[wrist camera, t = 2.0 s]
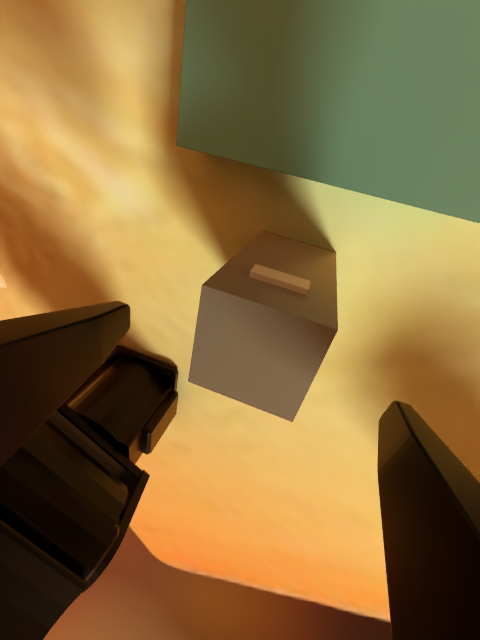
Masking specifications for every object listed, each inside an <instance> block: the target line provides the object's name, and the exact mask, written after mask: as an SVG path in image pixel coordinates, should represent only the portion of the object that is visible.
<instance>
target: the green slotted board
mask: <svg viewBox="0 0 480 640" xmlns="http://www.w3.org/2000/svg"><path fill="white" fill-rule="evenodd" d="M176 146H180V147H184V148H188V149H192V150H195V151H199V152H203V153H207V154H211V155H215V156H219V157H223V158H227V159H231V160H234V161H238V162H242V163H246V164H250V165H254V166H258V167H262V168H266V169H270V170H274V171H277V172H281V173H285V174H289V175H293V176H297V177H301V178H305V179H309V180H313V181H316V182H320V183H324V184H328V185H332V186H336V187H340V188H344V189H348V190H352V191H356V192H359V193H363V194H367V195H371V196H375V197H379V198H383V199H387V200H391V201H395V202H398V203H402V204H406V205H410V206H414V207H418V208H422V209H426V210H430V211H434V212H438V213H441V214H445V215H449V216H453V217H457V218H461V219H465V220H469V221H473V222H477V223H479V222H480V0H186V11H185V26H184V41H183V55H182V70H181V85H180V100H179V115H178V130H177V145H176Z"/></svg>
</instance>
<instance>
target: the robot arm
mask: <svg viewBox="0 0 480 640" xmlns="http://www.w3.org/2000/svg"><path fill="white" fill-rule="evenodd" d="M129 327H130V307H129V305H128V304H125V303H123V302H120V301H114V302H108V303H102V304H96V305H91V306H85V307H79V308H73V309H67V310H61V311H55V312H49V313H43V314H37V315H31V316H25V317H19V318H13V319H7V320H2V321H0V640H43V639H44V637H45V636H46V634H47V633H48V632H49V630H50V629H51V628H52V626H53V625H54V624H55V623H56V621H57V620H58V619H59V618H60V616H61V615H62V614H63V613H64V611H65V610H66V609H67V608H68V607H69V606H70V605H71V604H72V602H73V601H74V600H75V599H76V598H77V597H78V596H79V595H80V594H81V593H83V592H84V591H86V590H87V589H88V588H89V587H90V586H91V585H92V584H93V583H94V582H95V581H96V580H97V579H98V577H99V576H100V575H101V574H102V572H103V571H104V570H105V568H106V567H107V565H108V564H109V563H110V561H111V560H112V558H113V556H114V555H115V553H116V551H117V550H118V548H119V546H120V544H121V542H122V540H123V538H124V535H125V533H126V531H127V528H128V526H129V524H130V521H131V519H132V517H133V514H134V512H135V510H136V507H137V505H138V502H139V500H140V498H141V495H142V493H143V491H144V488H145V486H146V483H147V481H148V479H149V476H150V475H149V474H148V473H147V472H146V471H144V470H143V471H142V470H141V469H140V468H139V467H137V466H136V465H135V463H136V462H137V460H138V459H139V457H140V456H141V454H142V453H145V454H149V453H151V452H152V450H153V449H154V447H155V446H156V444H157V443H158V441H159V439H160V438H161V436H162V435H163V433H164V432H165V430H166V429H167V427H168V425H169V424H170V422H171V421H172V419H173V418H174V416H175V414H176V410H177V402H178V393H177V391H176V389H177V380H178V371H177V369H176V368H175V367H173V366H170V365H167V364H165V363H162V362H160V361H157V360H154V359H152V358H149V357H147V356H144V355H141V354H139V353H136V352H134V351H131V350H128V349H126V348H123V347H121V346H118V345H117V344H118V343H119V342H120V340H121V339H122V338H123V336H124V335H125V334H126V333H127V331H128V330H129ZM378 484H379V495H380V507H381V518H382V529H383V540H384V551H385V563H386V574H387V585H388V596H389V608H390V619H391V629H392V640H480V483H479V481H478V480H477V479H476V478H475V477H474V476H473V475H472V474H471V473H470V471H469V470H468V469H467V468H466V467H465V466H464V465H463V464H462V462H461V461H460V460H459V459H458V458H457V457H456V456H455V455H454V454H453V452H452V451H451V450H450V449H449V448H448V447H447V446H446V445H445V444H444V442H443V441H442V440H441V439H440V438H439V437H438V436H437V435H436V434H435V432H434V431H433V430H432V429H431V428H430V427H429V426H428V425H427V424H426V422H425V421H424V420H423V419H422V418H421V417H420V416H419V415H418V413H417V412H416V411H415V410H414V409H413V408H412V407H411V406H410V405H408V404H406V403H403V402H400V401H397V400H396V401H393V402H392V403H391V404H390V406H389V407H388V408H387V410H386V411H385V412H384V414H383V415H382V416H381V418H380V421H379V433H378Z"/></svg>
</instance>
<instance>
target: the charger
mask: <svg viewBox="0 0 480 640" xmlns="http://www.w3.org/2000/svg"><path fill="white" fill-rule="evenodd" d="M337 330H338V320H337V279H336V252H333V251H329V250H326V249H322V248H319V247H316V246H312V245H309V244H305V243H302V242H298V241H295V240H292V239H288V238H285V237H281V236H278V235H274V234H271V233H267V232H264V231H262V232H261V233H260V234H258V235H257V236H256V237H255V238H254V239H253V240H252V241H251V242H249V243H248V244H247V245H246V246H245V247H244V248H243V249H242V250H241V251H239V252H238V253H237V254H236V255H235V256H234V257H233V258H232V259H230V260H229V261H228V262H227V263H226V264H225V265H224V266H223V267H222V268H220V269H219V270H218V271H217V272H216V273H215V274H214V275H213V276H211V277H210V278H209V279H208V280H207V281H206V282H205V283H204V284H203V285H202V289H201V296H200V303H199V310H198V317H197V324H196V331H195V338H194V345H193V352H192V358H191V365H190V372H189V379H188V382H191V383H193V384H196V385H199V386H201V387H204V388H206V389H209V390H211V391H214V392H217V393H219V394H222V395H224V396H227V397H229V398H232V399H235V400H237V401H240V402H242V403H245V404H247V405H250V406H253V407H255V408H258V409H260V410H263V411H265V412H268V413H271V414H273V415H276V416H278V417H281V418H283V419H286V420H289V421H291V422H293V420H294V418H295V416H296V414H297V412H298V410H299V408H300V406H301V404H302V402H303V400H304V398H305V396H306V394H307V392H308V390H309V388H310V385H311V383H312V381H313V379H314V377H315V375H316V373H317V371H318V369H319V367H320V365H321V363H322V361H323V359H324V357H325V355H326V353H327V351H328V349H329V347H330V345H331V343H332V340H333V338H334V336H335V334H336V332H337Z"/></svg>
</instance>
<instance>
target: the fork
mask: <svg viewBox="0 0 480 640" xmlns="http://www.w3.org/2000/svg"><path fill="white" fill-rule="evenodd" d="M0 287H6V285H5V282H4V280H3V278H2V276H1V274H0Z"/></svg>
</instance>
